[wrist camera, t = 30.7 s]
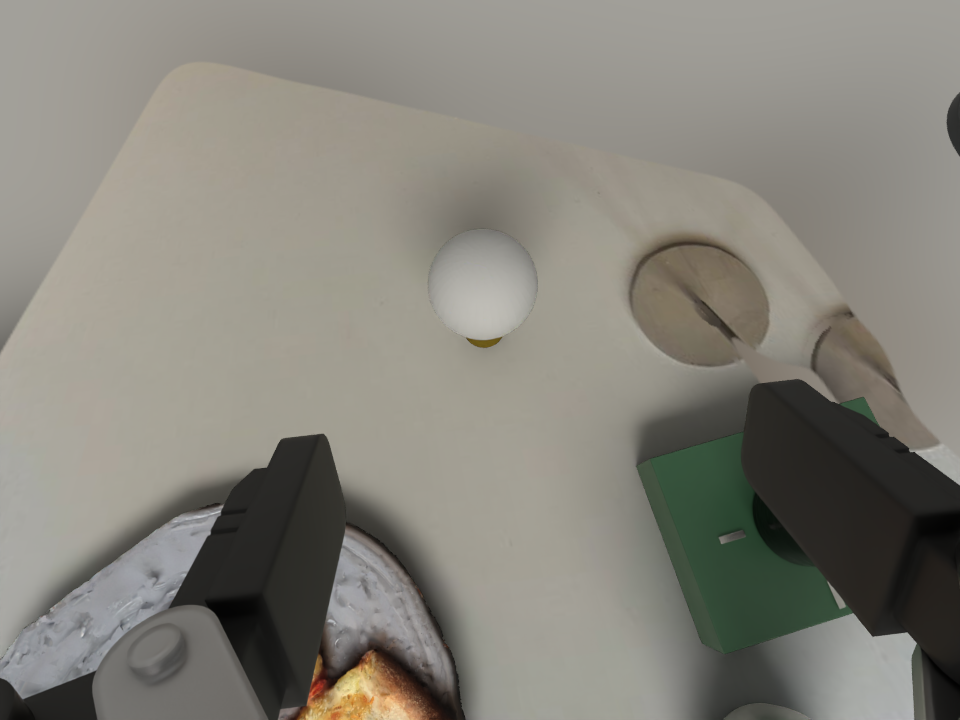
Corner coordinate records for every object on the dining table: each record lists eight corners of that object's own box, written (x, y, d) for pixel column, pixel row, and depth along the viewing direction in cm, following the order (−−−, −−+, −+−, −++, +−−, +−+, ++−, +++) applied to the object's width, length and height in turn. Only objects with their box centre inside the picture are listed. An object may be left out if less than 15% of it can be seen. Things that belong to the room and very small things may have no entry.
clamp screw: (733, 522, 28) (786, 517, 23) (782, 450, 29) (841, 430, 24) (819, 588, 27) (893, 598, 22) (865, 510, 28) (946, 503, 23)
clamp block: (832, 408, 33) (866, 395, 30) (917, 575, 30) (964, 579, 27) (635, 465, 32) (650, 458, 29) (701, 643, 29) (725, 655, 26)
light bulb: (530, 375, 34) (546, 311, 25) (439, 376, 34) (419, 314, 25) (526, 292, 36) (539, 203, 27) (440, 294, 36) (422, 206, 27)
